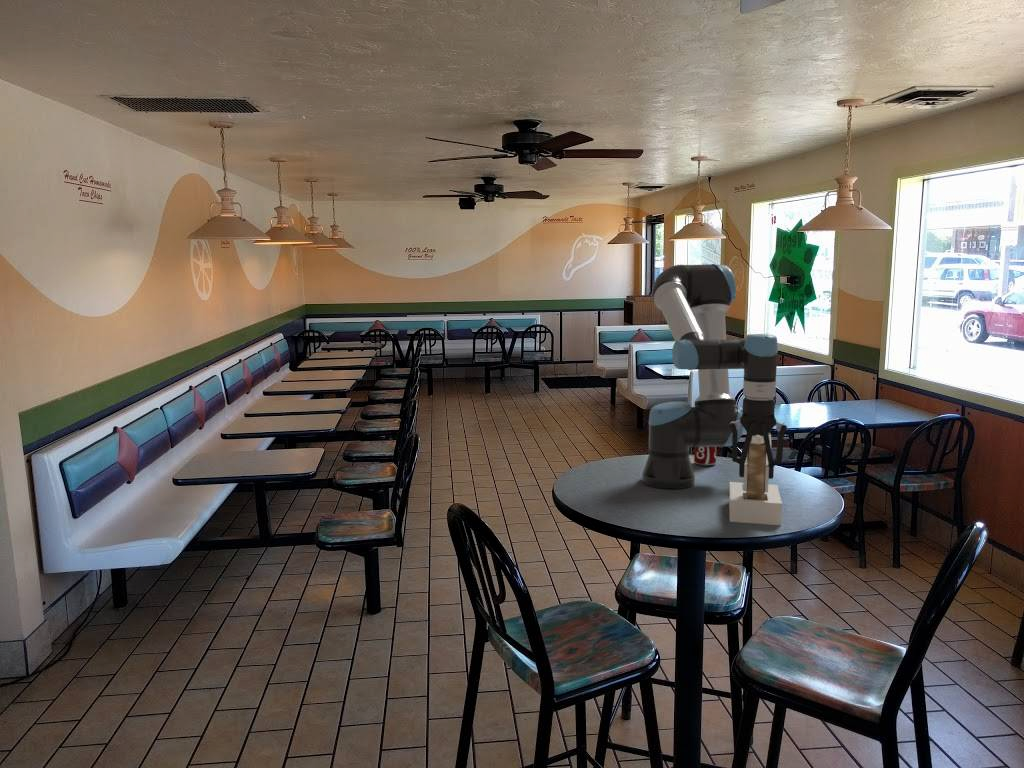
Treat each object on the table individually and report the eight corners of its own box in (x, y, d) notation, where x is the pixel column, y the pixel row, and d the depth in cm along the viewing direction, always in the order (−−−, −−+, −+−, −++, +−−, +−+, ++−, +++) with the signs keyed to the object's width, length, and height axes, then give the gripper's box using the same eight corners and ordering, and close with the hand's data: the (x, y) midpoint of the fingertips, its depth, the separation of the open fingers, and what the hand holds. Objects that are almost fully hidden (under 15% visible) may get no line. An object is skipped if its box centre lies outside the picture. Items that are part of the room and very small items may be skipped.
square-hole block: (729, 521, 186) (730, 500, 186) (729, 501, 202) (729, 481, 202) (781, 525, 183) (782, 503, 182) (776, 505, 199) (777, 484, 198)
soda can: (692, 461, 245) (693, 425, 244) (713, 461, 245) (714, 425, 243) (696, 466, 239) (697, 429, 237) (718, 466, 239) (719, 429, 237)
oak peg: (746, 504, 187) (748, 445, 185) (745, 499, 191) (747, 441, 189) (764, 505, 186) (767, 446, 184) (763, 500, 190) (766, 442, 188)
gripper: (722, 399, 183) (719, 492, 187) (798, 401, 179) (793, 497, 182) (722, 394, 190) (719, 484, 194) (795, 396, 186) (791, 488, 189)
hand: (755, 490), depth 188 cm, fingers closed on oak peg, 4 cm apart
